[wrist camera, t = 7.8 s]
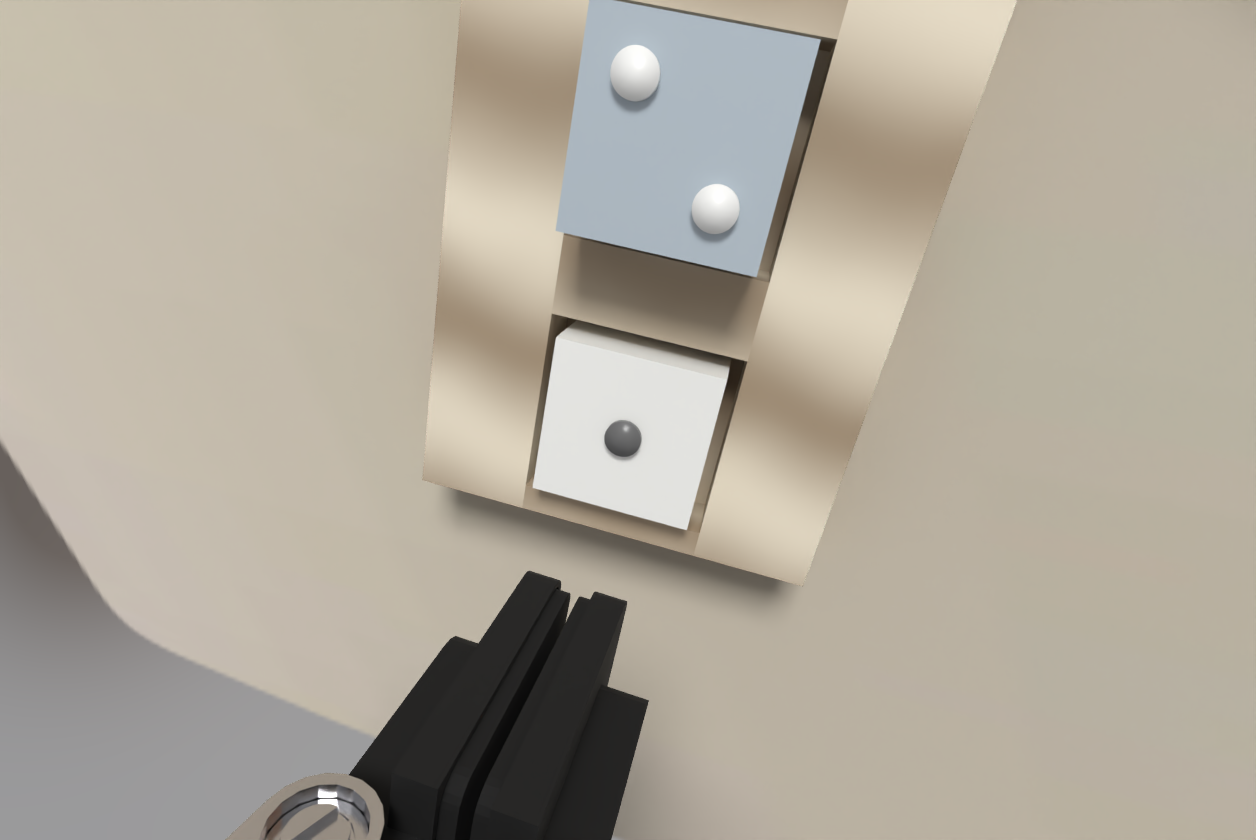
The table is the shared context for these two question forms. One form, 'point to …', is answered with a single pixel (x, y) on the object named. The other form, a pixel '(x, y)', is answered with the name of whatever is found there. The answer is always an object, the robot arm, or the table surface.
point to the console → (693, 293)
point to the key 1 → (629, 422)
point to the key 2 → (681, 133)
